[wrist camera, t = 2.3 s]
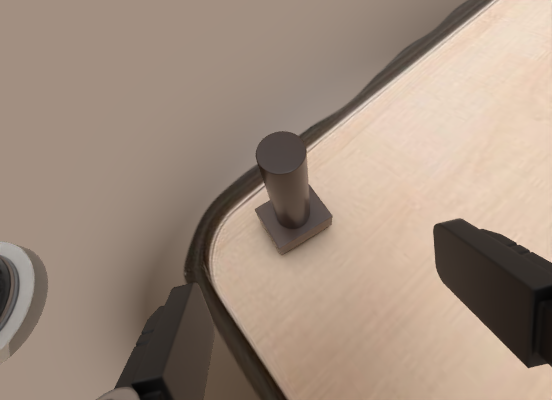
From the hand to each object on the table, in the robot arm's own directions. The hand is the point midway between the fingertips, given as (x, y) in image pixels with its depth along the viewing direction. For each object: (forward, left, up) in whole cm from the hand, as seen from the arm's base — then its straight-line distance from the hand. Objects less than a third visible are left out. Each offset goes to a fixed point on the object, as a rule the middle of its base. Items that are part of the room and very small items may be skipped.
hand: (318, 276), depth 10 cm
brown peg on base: (+2, +7, -15) cm, 17 cm away
